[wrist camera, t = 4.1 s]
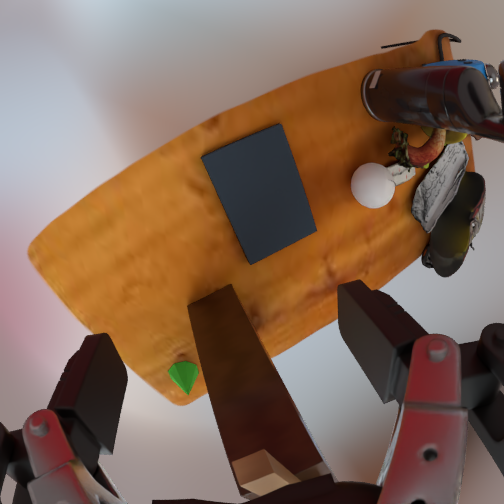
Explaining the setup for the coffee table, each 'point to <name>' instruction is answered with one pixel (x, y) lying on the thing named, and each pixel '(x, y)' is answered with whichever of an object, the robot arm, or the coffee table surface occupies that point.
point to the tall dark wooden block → (249, 390)
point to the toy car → (427, 257)
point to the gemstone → (184, 375)
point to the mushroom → (428, 151)
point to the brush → (262, 473)
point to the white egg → (372, 185)
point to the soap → (400, 173)
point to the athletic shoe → (458, 225)
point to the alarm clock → (476, 64)
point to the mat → (261, 192)
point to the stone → (439, 185)
